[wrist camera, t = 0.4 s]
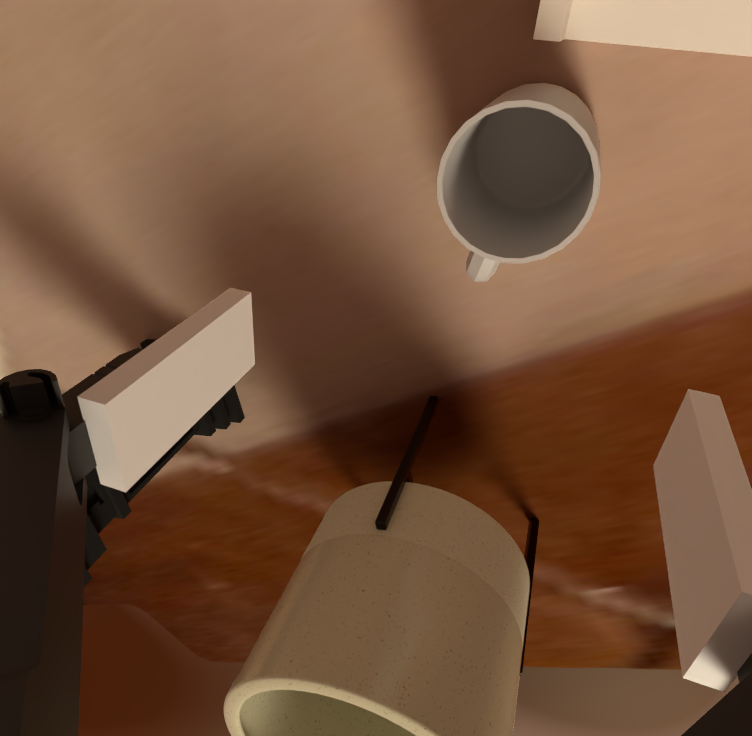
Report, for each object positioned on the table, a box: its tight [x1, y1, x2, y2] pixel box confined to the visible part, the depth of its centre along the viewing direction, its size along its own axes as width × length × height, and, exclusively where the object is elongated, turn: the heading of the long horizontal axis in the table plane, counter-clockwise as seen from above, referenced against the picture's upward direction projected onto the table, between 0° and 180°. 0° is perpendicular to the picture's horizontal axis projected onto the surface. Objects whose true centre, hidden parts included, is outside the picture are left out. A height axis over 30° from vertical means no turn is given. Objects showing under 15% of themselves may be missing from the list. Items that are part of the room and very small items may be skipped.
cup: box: [437, 83, 601, 282], centre depth 30 cm, size 7×10×9 cm
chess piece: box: [84, 339, 245, 587], centre depth 43 cm, size 8×8×20 cm
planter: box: [224, 396, 539, 736], centre depth 38 cm, size 15×16×23 cm
